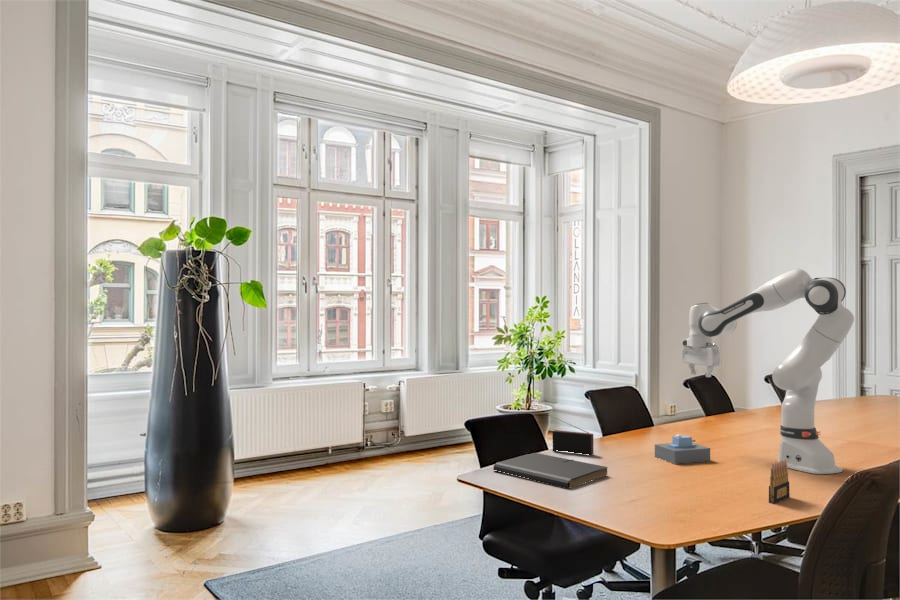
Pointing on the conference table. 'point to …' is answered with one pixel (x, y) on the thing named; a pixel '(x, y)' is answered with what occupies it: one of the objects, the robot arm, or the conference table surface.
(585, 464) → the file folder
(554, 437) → the radio
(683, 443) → the servo
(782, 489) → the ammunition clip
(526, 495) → the conference table surface
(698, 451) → the grey socket block
